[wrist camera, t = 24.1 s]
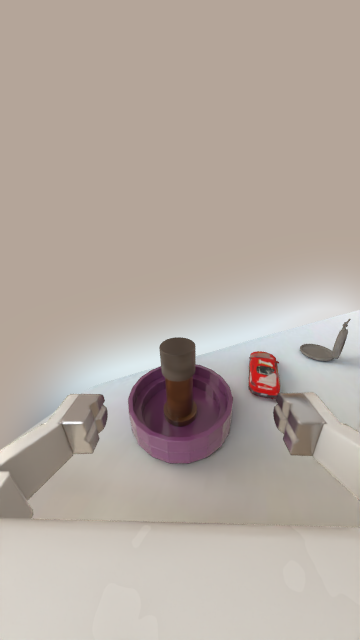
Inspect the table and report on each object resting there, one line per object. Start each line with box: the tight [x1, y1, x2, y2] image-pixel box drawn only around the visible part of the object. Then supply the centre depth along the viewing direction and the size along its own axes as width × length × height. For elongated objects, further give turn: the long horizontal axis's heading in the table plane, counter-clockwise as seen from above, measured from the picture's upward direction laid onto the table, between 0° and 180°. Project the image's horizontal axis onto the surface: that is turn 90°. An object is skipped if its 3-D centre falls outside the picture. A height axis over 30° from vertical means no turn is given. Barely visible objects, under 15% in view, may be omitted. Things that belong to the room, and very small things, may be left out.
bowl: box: [128, 364, 233, 463], centre depth 29 cm, size 15×15×4 cm
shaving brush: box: [160, 338, 197, 427], centre depth 28 cm, size 5×5×12 cm
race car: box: [249, 351, 280, 399], centre depth 37 cm, size 13×5×4 cm, turn 158°
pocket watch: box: [300, 319, 350, 361], centre depth 42 cm, size 8×8×10 cm
